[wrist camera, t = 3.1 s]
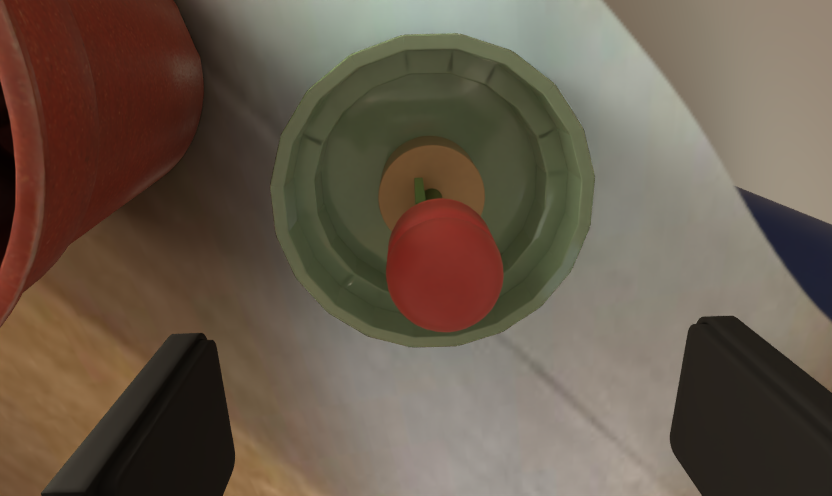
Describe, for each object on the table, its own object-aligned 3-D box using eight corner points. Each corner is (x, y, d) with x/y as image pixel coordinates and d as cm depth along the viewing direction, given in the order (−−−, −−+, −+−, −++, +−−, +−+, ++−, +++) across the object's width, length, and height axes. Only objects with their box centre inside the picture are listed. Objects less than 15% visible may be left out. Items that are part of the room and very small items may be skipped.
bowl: (572, 34, 26) (609, 29, 21) (553, 299, 31) (580, 343, 26) (280, 41, 26) (251, 38, 21) (307, 305, 31) (289, 351, 26)
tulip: (478, 134, 27) (544, 208, 14) (476, 228, 28) (534, 373, 16) (378, 136, 27) (352, 213, 14) (383, 231, 28) (363, 378, 15)
